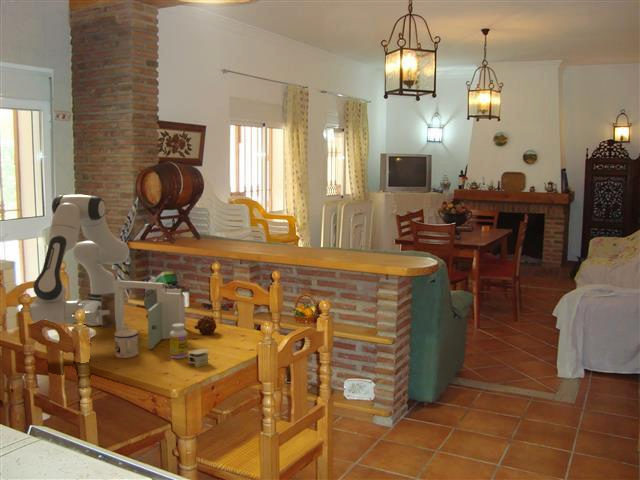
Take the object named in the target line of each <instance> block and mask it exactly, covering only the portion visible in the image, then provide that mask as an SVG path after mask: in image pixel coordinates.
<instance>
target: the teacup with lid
mask: <svg viewBox="0 0 640 480" xmlns="http://www.w3.org/2000/svg"><path fill="white" fill-rule="evenodd" d="M138 335H139V332H138V330H135V329H132V328H130V327H129V326H128V325H124V327H123V329H121V330H120V331H117V332H116V331H115V332H114V334H113V336H114V350H115V351H114V352H115V357H116V358H118V359H130V358H134V357H136V356H137V355H139V340H138V339H139V337H138Z"/></svg>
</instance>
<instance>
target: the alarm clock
mask: <svg viewBox="0 0 640 480" xmlns="http://www.w3.org/2000/svg"><path fill="white" fill-rule="evenodd" d="M166 289H167V288H166V287H165V292H166ZM144 295H145V297H144V299H143V305H144V309H145V311H147V313H146V315H145V317H146V318H148V310H149V309H150V308H151V307H153V306H154V305H155V304H156V303H157V289H145V290H144Z"/></svg>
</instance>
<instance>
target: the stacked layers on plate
mask: <svg viewBox="0 0 640 480" xmlns="http://www.w3.org/2000/svg"><path fill="white" fill-rule="evenodd" d="M209 351H210V350H208V349H206V348H199V349H191V350H188V355H187V357H188V363H191V364H194V367H195V366H196V367H195V368H201V367H203V366H205V365H204V364H206V365H208V364H209V360H210V359H209V355H210V353H207V352H209ZM202 365H203V366H202ZM200 366H201V367H200Z"/></svg>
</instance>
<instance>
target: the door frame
mask: <svg viewBox="0 0 640 480" xmlns="http://www.w3.org/2000/svg"><path fill="white" fill-rule="evenodd" d="M114 287H115V310H116V322H115V328H116V331H115V332H117V331H120V330H121V329H123V327H124V326H125V310H124V308H125V307H124V288H127V289H128V288H130V289H145V290H146V289H154V290H157V302H161V303H162V334H163V338H162V339H167V340H168V339H169V340H170V333H171V331H173V328H172V325H173V324H177V323H182V319H181V293H166V292H165V288H166V283H165V282H151V281H150V282H149V281H137V280H136V281H135V280H123V279H117V280H116V279H115V281H114ZM162 339H161V340H162Z"/></svg>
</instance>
